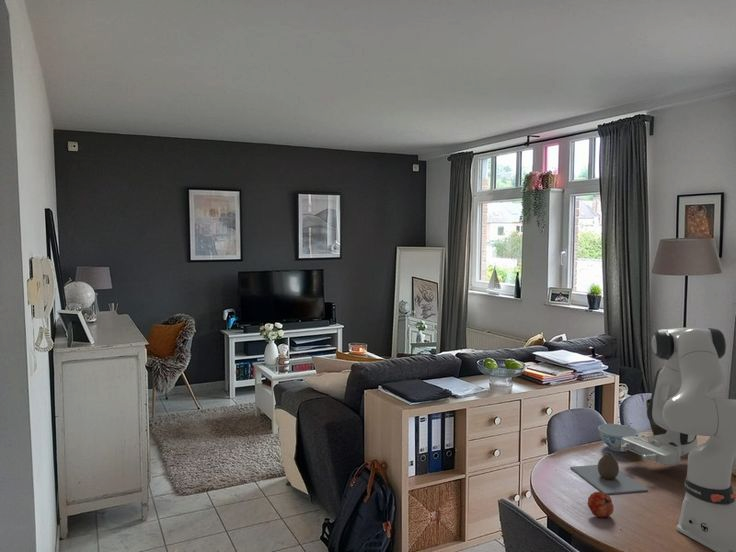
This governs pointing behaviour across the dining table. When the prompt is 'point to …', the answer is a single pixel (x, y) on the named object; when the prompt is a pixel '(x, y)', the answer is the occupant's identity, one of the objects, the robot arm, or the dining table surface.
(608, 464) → the vase
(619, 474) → the mat
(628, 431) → the chinaware
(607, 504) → the pomegranate
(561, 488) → the dining table surface
